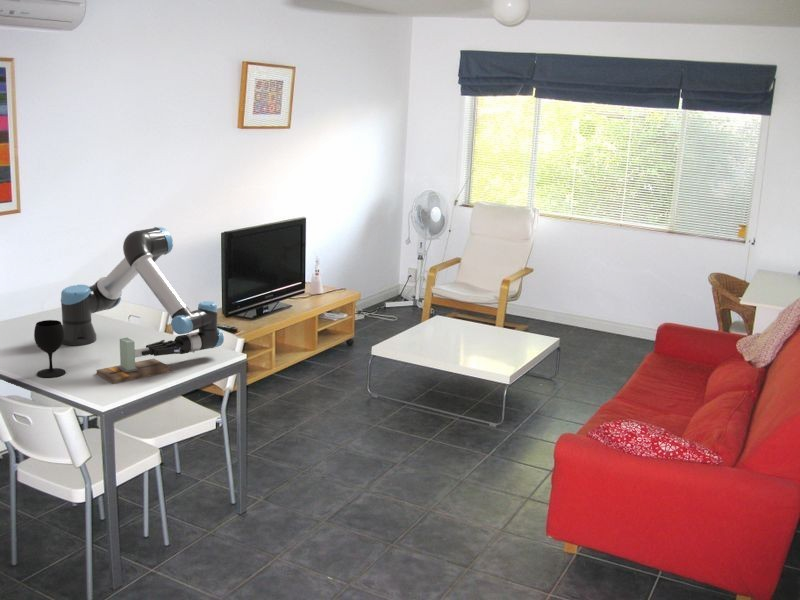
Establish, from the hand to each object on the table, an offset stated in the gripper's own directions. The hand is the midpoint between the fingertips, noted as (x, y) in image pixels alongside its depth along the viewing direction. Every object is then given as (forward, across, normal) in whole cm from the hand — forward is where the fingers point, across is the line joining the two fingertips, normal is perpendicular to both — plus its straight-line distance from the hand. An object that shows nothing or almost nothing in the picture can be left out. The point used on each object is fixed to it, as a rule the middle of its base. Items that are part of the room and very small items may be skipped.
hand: (132, 354), depth 320 cm
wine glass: (+24, +18, -8) cm, 31 cm away
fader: (+2, +1, -6) cm, 6 cm away
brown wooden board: (-1, +1, -8) cm, 8 cm away
